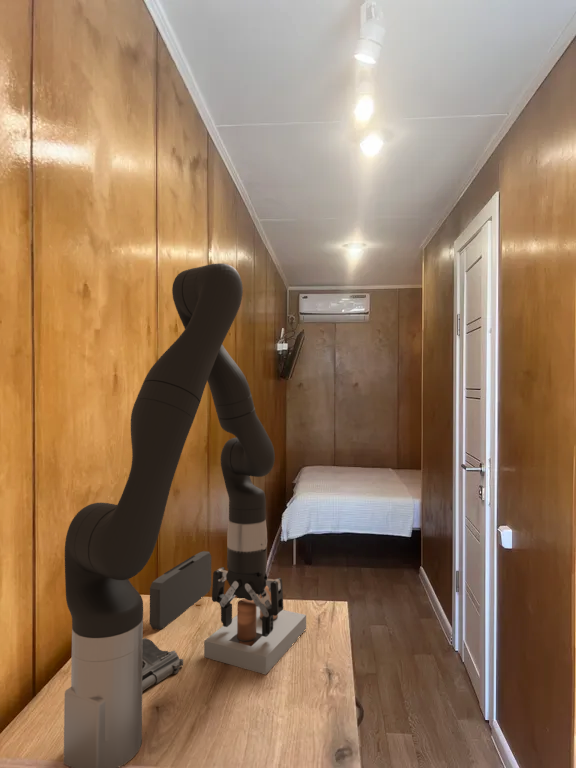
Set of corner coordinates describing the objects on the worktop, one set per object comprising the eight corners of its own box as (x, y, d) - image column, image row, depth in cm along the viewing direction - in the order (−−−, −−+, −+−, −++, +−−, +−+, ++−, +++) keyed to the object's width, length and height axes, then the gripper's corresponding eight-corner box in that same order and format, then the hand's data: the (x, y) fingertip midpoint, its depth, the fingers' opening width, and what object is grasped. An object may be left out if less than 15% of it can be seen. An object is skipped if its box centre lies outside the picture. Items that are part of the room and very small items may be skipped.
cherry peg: (250, 660, 88) (250, 608, 88) (233, 655, 90) (233, 604, 90) (259, 651, 91) (260, 600, 92) (243, 646, 93) (243, 597, 93)
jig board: (265, 674, 84) (266, 619, 84) (204, 657, 89) (204, 605, 89) (306, 629, 100) (306, 583, 100) (252, 616, 105) (252, 573, 106)
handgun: (63, 680, 79) (110, 704, 72) (146, 635, 93) (191, 652, 87) (63, 695, 79) (110, 721, 72) (146, 649, 93) (191, 666, 87)
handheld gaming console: (202, 588, 121) (202, 549, 121) (211, 590, 120) (212, 550, 120) (147, 630, 99) (148, 582, 100) (158, 632, 98) (159, 583, 99)
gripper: (204, 543, 91) (203, 630, 90) (271, 554, 85) (271, 648, 84) (226, 533, 97) (225, 614, 97) (289, 543, 91) (289, 629, 91)
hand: (246, 629), depth 91 cm, fingers open, 8 cm apart
